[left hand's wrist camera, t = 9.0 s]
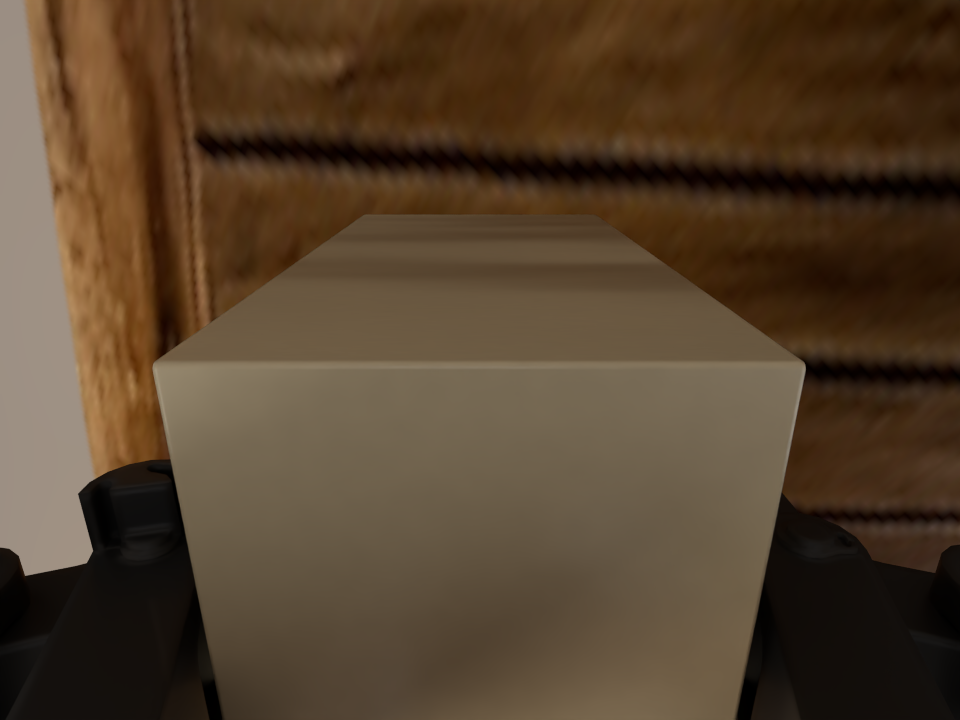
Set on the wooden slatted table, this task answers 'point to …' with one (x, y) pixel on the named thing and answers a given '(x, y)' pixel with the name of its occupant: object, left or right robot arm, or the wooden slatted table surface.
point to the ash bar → (479, 478)
